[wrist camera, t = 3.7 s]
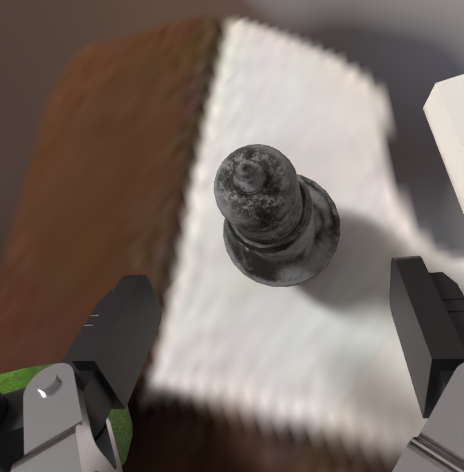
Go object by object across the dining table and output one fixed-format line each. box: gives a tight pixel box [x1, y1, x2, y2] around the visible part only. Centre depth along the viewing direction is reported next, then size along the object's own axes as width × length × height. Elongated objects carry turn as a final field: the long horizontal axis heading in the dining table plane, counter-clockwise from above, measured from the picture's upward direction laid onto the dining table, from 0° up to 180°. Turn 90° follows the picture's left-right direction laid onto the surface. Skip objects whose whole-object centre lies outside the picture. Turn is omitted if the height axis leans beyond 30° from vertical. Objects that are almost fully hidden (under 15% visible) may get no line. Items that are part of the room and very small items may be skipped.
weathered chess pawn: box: [214, 144, 340, 287], centre depth 16 cm, size 6×6×12 cm
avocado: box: [0, 364, 133, 466], centre depth 16 cm, size 8×8×12 cm
